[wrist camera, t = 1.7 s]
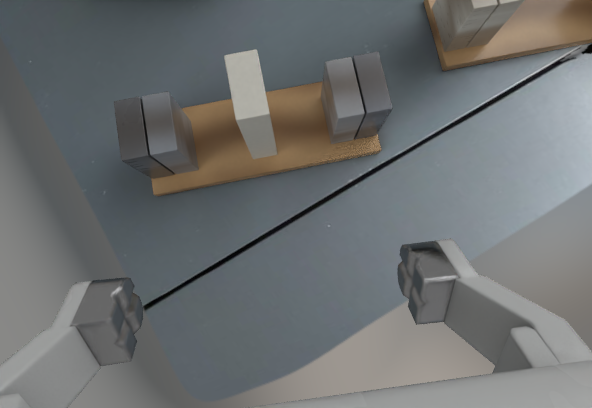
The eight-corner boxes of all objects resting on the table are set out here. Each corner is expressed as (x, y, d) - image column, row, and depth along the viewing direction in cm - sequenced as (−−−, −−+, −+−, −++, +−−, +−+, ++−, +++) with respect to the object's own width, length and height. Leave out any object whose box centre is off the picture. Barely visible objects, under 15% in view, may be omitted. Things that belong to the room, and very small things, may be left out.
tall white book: (277, 154, 36) (269, 113, 26) (253, 159, 36) (235, 120, 26) (268, 106, 37) (256, 48, 27) (244, 110, 37) (223, 54, 27)
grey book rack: (379, 153, 37) (399, 125, 30) (157, 196, 37) (121, 179, 29) (361, 78, 38) (376, 34, 31) (146, 119, 38) (109, 84, 31)
